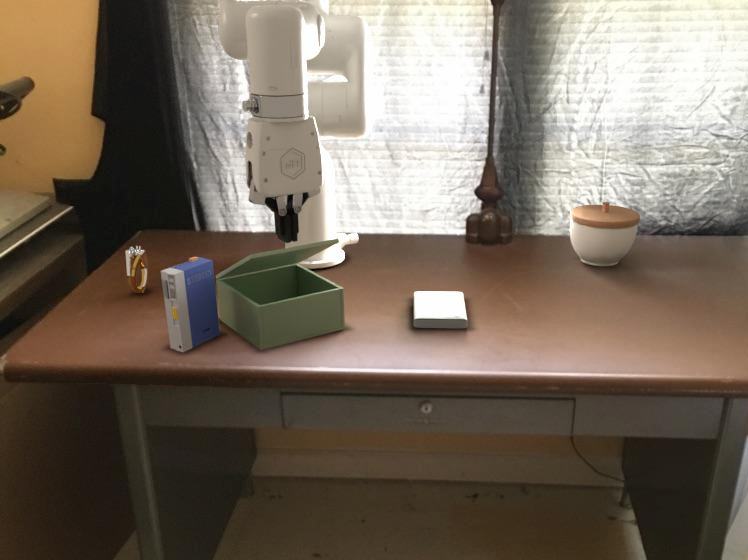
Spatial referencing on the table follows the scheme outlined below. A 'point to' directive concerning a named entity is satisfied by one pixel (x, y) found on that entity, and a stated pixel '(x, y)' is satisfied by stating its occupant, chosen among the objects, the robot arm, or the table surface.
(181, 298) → the walkman
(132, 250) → the ring
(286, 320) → the chest
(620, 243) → the lidded bowl
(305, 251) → the chest lid
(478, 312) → the table surface
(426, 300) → the hard drive
